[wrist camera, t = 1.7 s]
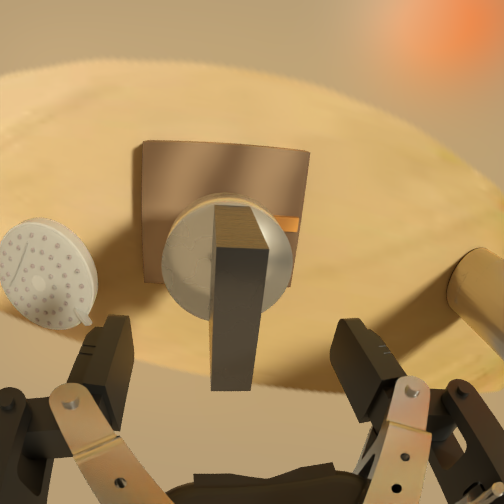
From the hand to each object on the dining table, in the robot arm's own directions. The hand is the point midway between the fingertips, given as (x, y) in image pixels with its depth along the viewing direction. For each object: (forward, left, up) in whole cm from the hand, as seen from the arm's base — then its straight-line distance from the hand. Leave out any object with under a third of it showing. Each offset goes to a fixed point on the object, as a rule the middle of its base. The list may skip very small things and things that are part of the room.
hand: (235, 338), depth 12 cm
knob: (0, +1, -9) cm, 9 cm away
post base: (0, 0, -17) cm, 17 cm away
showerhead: (+14, +4, -17) cm, 22 cm away
